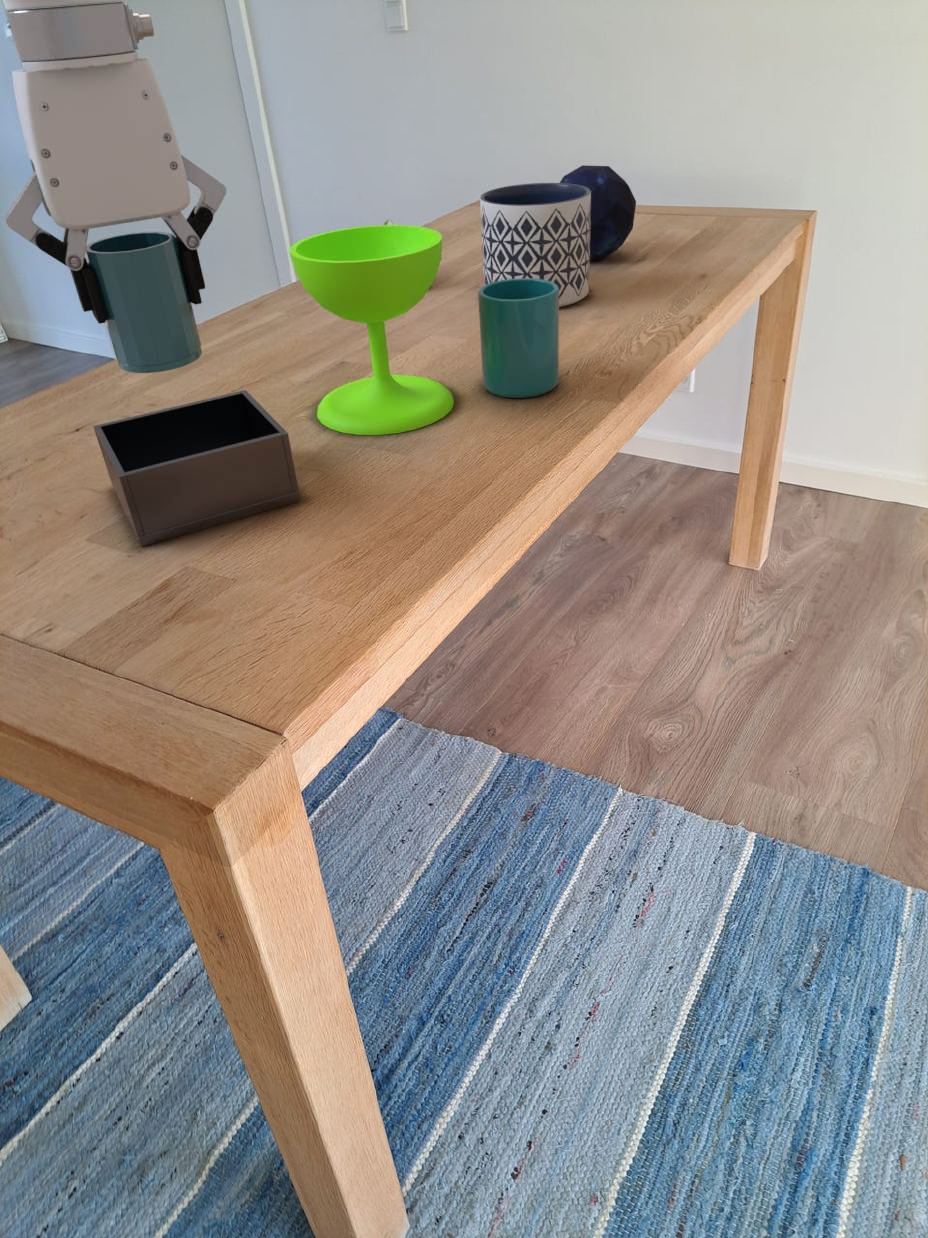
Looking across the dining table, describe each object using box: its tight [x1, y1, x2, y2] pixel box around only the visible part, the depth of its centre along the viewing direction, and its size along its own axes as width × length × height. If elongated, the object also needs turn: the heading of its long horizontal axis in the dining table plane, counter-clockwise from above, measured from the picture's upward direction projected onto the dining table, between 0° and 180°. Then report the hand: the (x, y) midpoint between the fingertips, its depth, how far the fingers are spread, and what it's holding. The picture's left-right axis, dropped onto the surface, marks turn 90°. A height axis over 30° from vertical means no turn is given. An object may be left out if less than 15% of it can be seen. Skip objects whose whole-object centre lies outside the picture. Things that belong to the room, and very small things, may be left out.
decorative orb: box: [559, 164, 637, 262], centre depth 147 cm, size 14×15×15 cm
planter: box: [479, 182, 591, 308], centre depth 131 cm, size 16×16×14 cm
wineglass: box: [289, 224, 455, 436], centre depth 98 cm, size 16×16×18 cm
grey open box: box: [93, 389, 301, 547], centre depth 85 cm, size 15×13×7 cm
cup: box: [477, 278, 560, 399], centre depth 103 cm, size 9×12×11 cm
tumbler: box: [85, 231, 203, 374], centre depth 70 cm, size 7×7×9 cm
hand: (147, 307), depth 70 cm, fingers closed on tumbler, 6 cm apart
